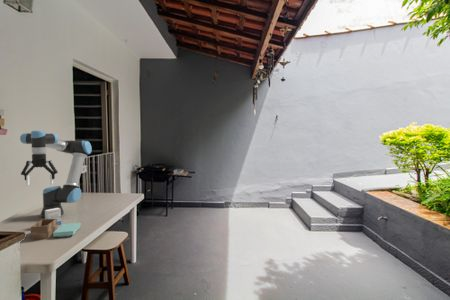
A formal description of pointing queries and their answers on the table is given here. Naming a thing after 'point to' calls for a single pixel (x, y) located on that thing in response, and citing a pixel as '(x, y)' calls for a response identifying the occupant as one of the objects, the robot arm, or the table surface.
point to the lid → (67, 229)
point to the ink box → (53, 214)
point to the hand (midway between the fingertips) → (40, 184)
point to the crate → (43, 229)
